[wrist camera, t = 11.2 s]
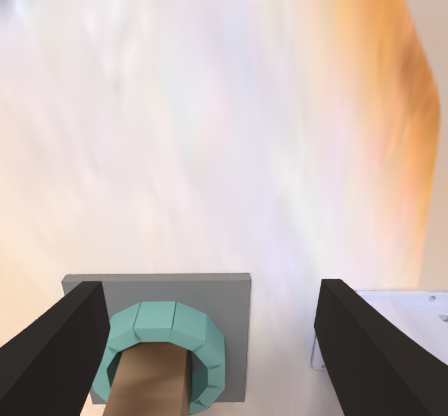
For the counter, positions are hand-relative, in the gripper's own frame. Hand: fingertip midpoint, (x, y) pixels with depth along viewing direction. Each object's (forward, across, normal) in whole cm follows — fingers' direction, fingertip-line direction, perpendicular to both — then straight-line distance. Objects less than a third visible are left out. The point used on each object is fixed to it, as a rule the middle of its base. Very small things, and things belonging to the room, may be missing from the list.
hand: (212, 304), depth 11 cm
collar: (+10, +4, +13) cm, 17 cm away
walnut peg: (+10, +4, +13) cm, 17 cm away
